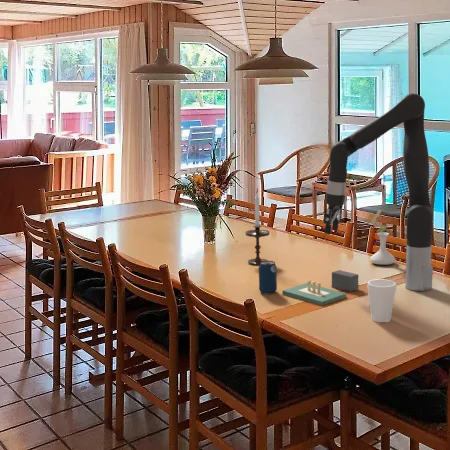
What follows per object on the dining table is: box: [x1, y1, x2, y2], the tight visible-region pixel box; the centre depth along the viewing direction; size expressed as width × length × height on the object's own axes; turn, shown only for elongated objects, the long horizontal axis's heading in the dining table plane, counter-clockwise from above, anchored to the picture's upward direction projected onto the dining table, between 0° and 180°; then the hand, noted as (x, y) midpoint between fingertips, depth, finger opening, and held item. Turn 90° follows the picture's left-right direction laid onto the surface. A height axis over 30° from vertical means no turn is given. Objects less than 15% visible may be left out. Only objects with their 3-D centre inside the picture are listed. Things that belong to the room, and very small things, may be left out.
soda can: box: [258, 260, 278, 295], centre depth 265 cm, size 7×7×12 cm
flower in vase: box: [369, 209, 397, 266], centre depth 300 cm, size 13×11×25 cm
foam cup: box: [367, 278, 397, 323], centre depth 230 cm, size 10×9×13 cm
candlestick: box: [245, 187, 270, 266], centre depth 306 cm, size 11×11×35 cm
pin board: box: [282, 279, 347, 307], centre depth 259 cm, size 20×14×6 cm
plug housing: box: [331, 269, 359, 292], centre depth 268 cm, size 10×5×6 cm, turn 41°
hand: (331, 232), depth 272 cm, fingers open, 8 cm apart
